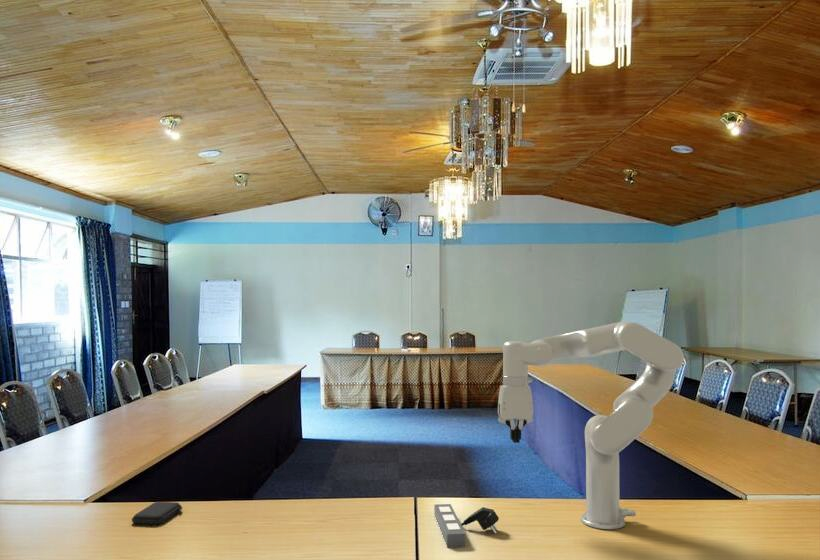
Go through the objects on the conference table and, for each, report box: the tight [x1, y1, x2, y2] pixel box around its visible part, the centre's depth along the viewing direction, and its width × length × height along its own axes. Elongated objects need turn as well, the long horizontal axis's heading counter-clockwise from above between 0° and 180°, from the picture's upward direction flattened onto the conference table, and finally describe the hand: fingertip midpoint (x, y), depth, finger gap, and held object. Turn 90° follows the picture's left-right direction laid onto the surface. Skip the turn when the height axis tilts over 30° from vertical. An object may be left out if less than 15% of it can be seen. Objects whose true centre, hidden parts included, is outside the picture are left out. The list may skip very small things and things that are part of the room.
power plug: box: [460, 506, 500, 535], centre depth 178 cm, size 6×8×12 cm
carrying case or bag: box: [131, 501, 183, 526], centre depth 188 cm, size 11×3×15 cm
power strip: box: [433, 503, 467, 548], centre depth 178 cm, size 5×24×4 cm, turn 6°
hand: (515, 441), depth 189 cm, fingers closed
